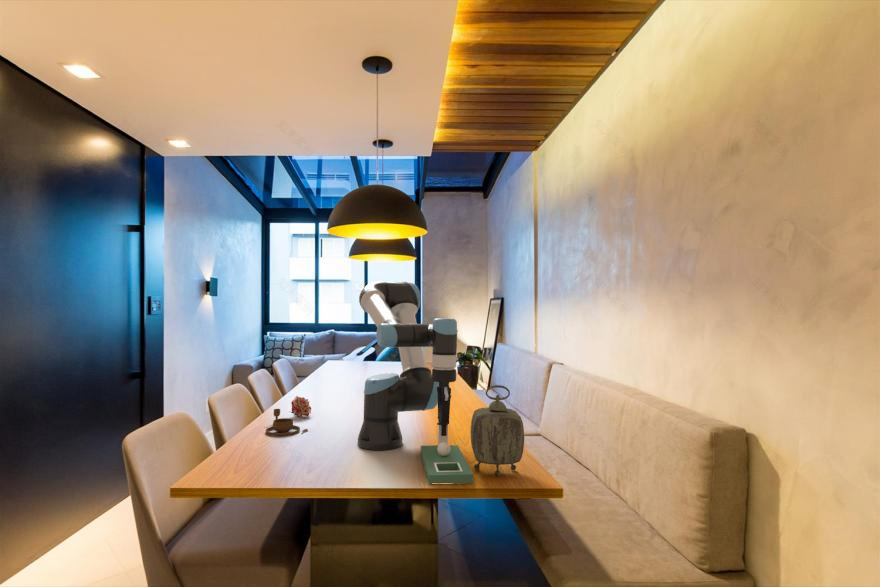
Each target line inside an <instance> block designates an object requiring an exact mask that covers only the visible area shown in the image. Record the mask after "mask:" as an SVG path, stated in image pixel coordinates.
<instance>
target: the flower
mask: <svg viewBox="0 0 880 587" xmlns="http://www.w3.org/2000/svg"><path fill="white" fill-rule="evenodd" d="M290 403H291V404H290V405H291V411H288V412H289V413H291V414H292V415H293V416H295V417H297V418H298V419H299V418H300V417H303V416H305V417H308V416H309V415H310V414H312V406H310V405H311V404H310V400H309V399H308V398H307V399H306V398H305V397H301V396H298V395H297V396H294V399H293V400H291V402H290Z"/></svg>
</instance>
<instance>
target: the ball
mask: <svg viewBox="0 0 880 587" xmlns="http://www.w3.org/2000/svg"><path fill="white" fill-rule="evenodd" d="M450 445H451V444H449V442H448V443H446V442H442V443H440V444H439V445H438V444H437V446H438V447H437V451H438V453H439V454H440V455H441V456H447V455H448V454H449V453H450V450H451V448H450Z"/></svg>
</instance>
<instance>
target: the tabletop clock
mask: <svg viewBox="0 0 880 587" xmlns="http://www.w3.org/2000/svg"><path fill="white" fill-rule="evenodd" d="M496 388H499V389H500V388H501V389H503V390H506V391H507V395H505V396H503V397H500V395H499V394H496V395H495V397H493V396H491V395H488V392H489V391H490V390H491V389H496ZM510 394H511V392H510V390H509V388H507V386H504V385H500V384H499V385H498V384H497V385H496V384H495V385H490V386H489V387H488V388H487V389H486V390H485V396H486V397H487V398H488V399H489V400H492V401H491V402H490V403H489V406H488V407H480V408H478V409H475V410H474V411H473V414H472V417H471V424H470V443H471V448H472V453H473V455H474V458H475V460H476V462H477V463H475V464H474V465H473V468H474V470H475V471H476V470H479V469H480V468H481V467H480V465H481V464H487V465H495V466H496V467H495V468H496V470H495V471H494V475H495V477H500V476H501V471H500V468H499V465H504V466H505V465H510V469H511V471H515V470H516V469H517V465H516V464H517V463H520V462H521V460H522V458H523V454H524V447H525V430H524V422H523V419H522V417H521V415H520V414H519V413H518V412H517V411H516V410H514V409H512V408H508V407H507V406H506V405H505V403H504V402H503V400H507V399H508V398H509V397H510V396H511V395H510Z"/></svg>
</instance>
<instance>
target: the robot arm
mask: <svg viewBox="0 0 880 587" xmlns="http://www.w3.org/2000/svg"><path fill="white" fill-rule="evenodd" d="M358 299H359V300H358V302H359V306H360V307H361V309H362V310H363V311H364V312H365V313H367V314H368V315H369V316H370V318H371V320H372V322H373V323H374V325H375V326H376V328H377V329H376V336H375V337H376V338H375V339H376V343H377V345H378V346H379V347H381V348H389V349H390V348H398V352H399V358H400V362H401V363H400V364H401V368H402V371H401V373H400V374H398V373H396V372H395V373H394V372H391V373H388V372H386V373H378V374H375V375H371V376H369V377H367V379H366V380H365V382H364V389H363V422H362V424H361V427H360V430H359V433H358V436H357V446H358V447H360V448H361V449H365V450H370V451H388V450H389V451H390V450H394V449H398V448H399V447H401V446H402V445H403V435H402V431H401V428H400V424H399V421H398V420H399V419H398V418H399V412H419V411H428V410H434V409H435V408H436V407H437V423H436V424H437V426H438V428H437V429H438V431H437V433H438V434H437V436H438V438H437V439H438V440H437V446H438V445H439V444H440V443H442V442H446V443H448V444H449V442H448V440H449V439H448V438H449V434H448V433H449V431H448V430H449V424H450V411H451V410H450V408H451V398H452V388H451V387H450V383H455V382H456V381H457V370H456V369H455V368H457V361H459V357H457V355H458V354H457V349H458V346H457V344H458V323H457V322H458V321H457V319H455V318H441V317H440V318H438V317H437V318H434V319H433V320H432V323H431V322H430V323H417V319H416V318H417V317H416V314H417V313H418V310H419V309H420V307H421V304H422V303H421V302H422V300H421V292H420V289H419V287H418V286H417V285H416V284H415V283H413V282H407V281H402V282H399V281H387V280H386V281H384V280H379V281H377V280H376V281H372V282H370V283H368V284H367V285H365V286H364V287H363V288H362V290H361V291H360V294H359V297H358ZM424 347H425V348H426V347H428V348H429V347H430V348H432V351H431V352H432V353H431V355H432V356H431V367H432V370H431V368H429V367H428V366H427V365H426V362H425V357H424V356H425V355H424V352H423V351H424V350H423V348H424Z"/></svg>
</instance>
